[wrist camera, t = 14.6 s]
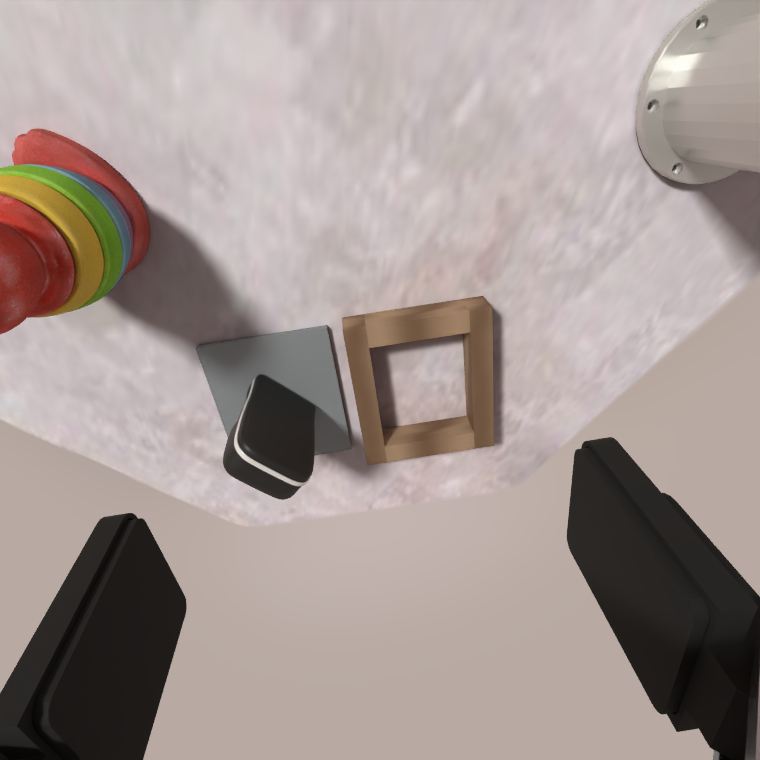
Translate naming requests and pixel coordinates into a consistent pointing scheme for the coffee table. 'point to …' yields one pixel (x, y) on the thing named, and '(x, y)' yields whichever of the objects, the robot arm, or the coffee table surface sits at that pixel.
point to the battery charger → (272, 440)
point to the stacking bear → (63, 228)
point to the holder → (413, 326)
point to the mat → (280, 377)
